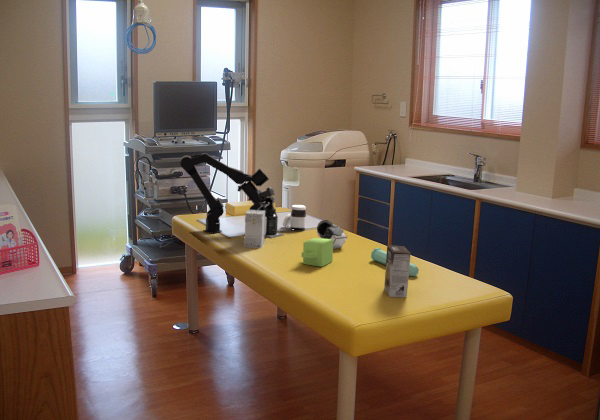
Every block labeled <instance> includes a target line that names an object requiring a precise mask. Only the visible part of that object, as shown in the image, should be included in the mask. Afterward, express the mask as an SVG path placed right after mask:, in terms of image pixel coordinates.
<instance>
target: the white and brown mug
mask: <svg viewBox="0 0 600 420" xmlns="http://www.w3.org/2000/svg"><path fill="white" fill-rule="evenodd" d="M306 208H307V207H306V205H303V204H293V205H291V211H290V213H288V214H287V215H286V216H285V218H284V220H283V223H282V226H283V227H285V228H287V227H286V226H288V227H290V230H292V229H294V230H293V231H295V230H303V231H305V230H306V228H307V224H306V223H307V211H306V210H307V209H306Z"/></svg>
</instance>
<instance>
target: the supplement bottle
mask: <svg viewBox="0 0 600 420" xmlns="http://www.w3.org/2000/svg"><path fill="white" fill-rule="evenodd" d="M265 210H266V212H267V213H268V215H269V216H270V218H271V220H270V221H269V220H267V219H266V234H265V235H276V234H277V233H278V223H279V222H278V221H279V218H278V217H279V216H278V214H277V212H276V211H277V209H276V208H275V207H274V208H266V209H265ZM275 213H276V214H277V215H276V214H275Z"/></svg>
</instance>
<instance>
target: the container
mask: <svg viewBox="0 0 600 420" xmlns="http://www.w3.org/2000/svg"><path fill="white" fill-rule="evenodd" d="M386 257H387V251H385V250H383V249H381V248H380V247H375V248H373V250H372V251H371V254H370V258H371V260H372V261H374V262H375V261H376V262H378V263H380V264H381V265H385V266H386ZM419 272H420V271H419V267H418V266H417V264H414V263H412V262H410V267H409V277H411V276H413V277H417V276H418V274H419Z"/></svg>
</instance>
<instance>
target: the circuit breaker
mask: <svg viewBox="0 0 600 420" xmlns="http://www.w3.org/2000/svg"><path fill="white" fill-rule="evenodd" d="M266 219H267V217H265V211H262V210H250V209H248V210H247V211H246V212H245V217H244V223H245V224H244V238H243V239H244V241H243V243H244V246H243V247H244V248H252V249H253V248H255V249H262V247H263V246H264V245H265V234H266Z"/></svg>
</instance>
